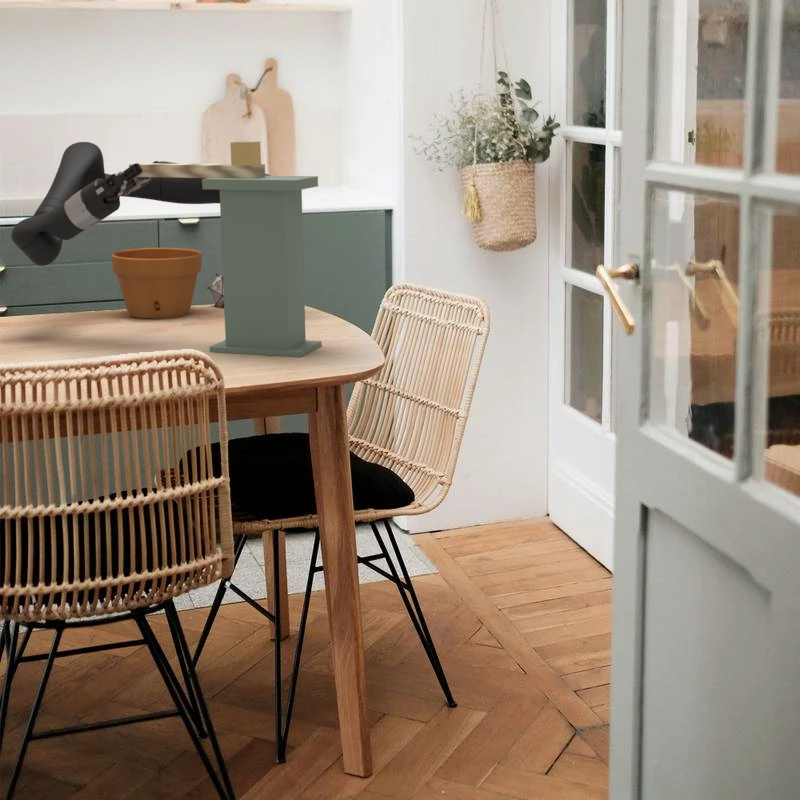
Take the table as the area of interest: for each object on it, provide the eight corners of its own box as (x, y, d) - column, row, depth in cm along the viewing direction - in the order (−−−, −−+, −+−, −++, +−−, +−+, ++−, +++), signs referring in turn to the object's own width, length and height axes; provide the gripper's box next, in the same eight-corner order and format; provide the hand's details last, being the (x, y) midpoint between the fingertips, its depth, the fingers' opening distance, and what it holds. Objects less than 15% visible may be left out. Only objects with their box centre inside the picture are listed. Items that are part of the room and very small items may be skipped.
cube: (261, 164, 262) (260, 141, 261) (252, 165, 258) (251, 142, 257) (240, 164, 263) (239, 141, 262) (231, 165, 259) (230, 142, 258)
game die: (233, 319, 325) (255, 286, 325) (225, 313, 316) (248, 278, 317) (204, 300, 326) (226, 267, 326) (195, 293, 317) (218, 259, 318)
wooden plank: (265, 176, 263) (264, 164, 262) (255, 178, 258) (254, 165, 258) (141, 175, 271) (140, 163, 270) (129, 176, 266) (128, 164, 266)
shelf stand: (321, 345, 271) (317, 176, 263) (300, 356, 260) (295, 180, 252) (233, 341, 277) (227, 175, 269) (209, 351, 266) (202, 179, 258)
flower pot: (218, 308, 319) (215, 248, 315) (181, 323, 299) (178, 259, 295) (139, 305, 324) (136, 246, 321) (99, 319, 304) (95, 256, 301)
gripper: (118, 217, 280) (175, 179, 274) (83, 223, 266) (142, 184, 260) (100, 186, 279) (157, 148, 273) (64, 191, 266) (123, 151, 260)
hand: (149, 165), depth 267 cm, fingers open, 8 cm apart
